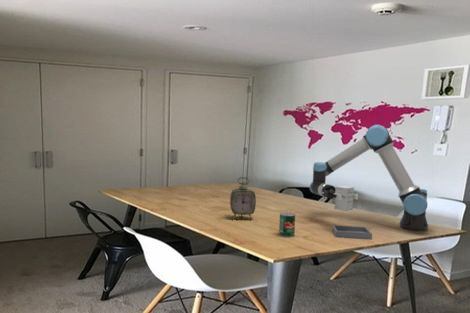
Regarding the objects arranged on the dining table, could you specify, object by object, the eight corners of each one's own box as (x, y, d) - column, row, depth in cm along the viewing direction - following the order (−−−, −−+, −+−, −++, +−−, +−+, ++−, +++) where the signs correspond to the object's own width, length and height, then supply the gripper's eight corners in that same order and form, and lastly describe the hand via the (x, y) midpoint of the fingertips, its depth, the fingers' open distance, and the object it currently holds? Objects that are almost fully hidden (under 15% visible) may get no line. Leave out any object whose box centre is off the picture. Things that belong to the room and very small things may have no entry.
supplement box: (333, 209, 221) (335, 186, 220) (341, 207, 226) (342, 185, 226) (345, 211, 216) (347, 187, 215) (353, 210, 221) (354, 186, 220)
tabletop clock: (230, 220, 239) (232, 177, 238) (229, 217, 248) (230, 176, 247) (254, 220, 241) (256, 178, 239) (252, 217, 250) (254, 176, 248)
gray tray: (365, 232, 222) (366, 227, 222) (371, 239, 208) (372, 233, 208) (332, 230, 224) (332, 225, 224) (335, 237, 210) (335, 231, 210)
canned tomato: (284, 232, 215) (285, 211, 215) (297, 235, 210) (298, 214, 210) (275, 235, 209) (276, 213, 209) (289, 238, 204) (290, 216, 204)
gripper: (343, 197, 241) (366, 203, 220) (309, 197, 235) (330, 204, 213) (344, 184, 241) (367, 190, 220) (310, 184, 234) (331, 190, 213)
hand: (349, 197), depth 216 cm, fingers closed on supplement box, 9 cm apart
